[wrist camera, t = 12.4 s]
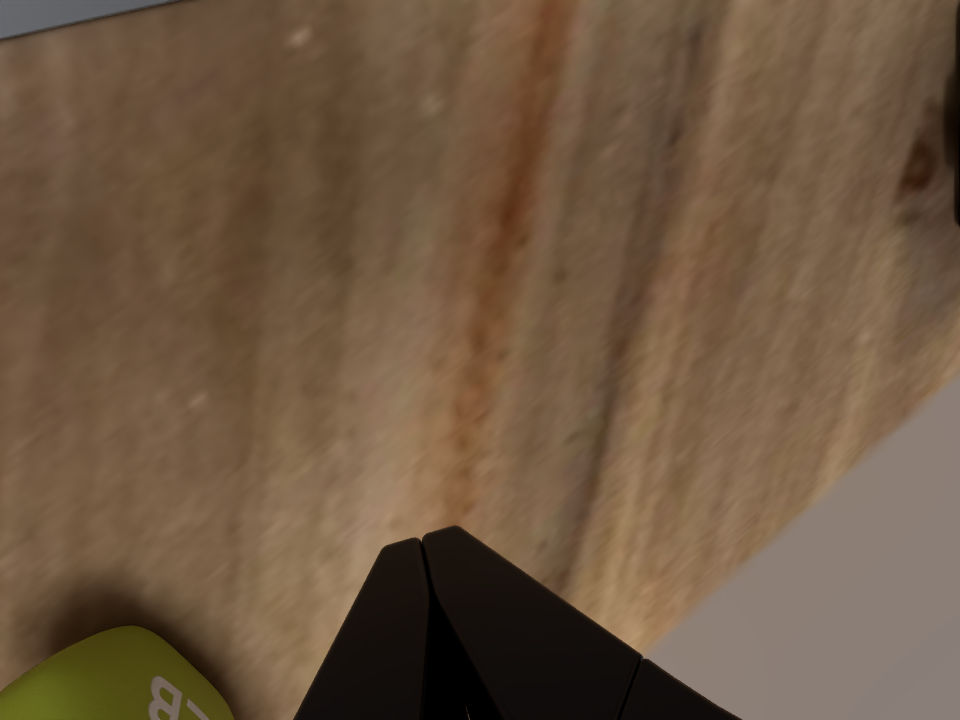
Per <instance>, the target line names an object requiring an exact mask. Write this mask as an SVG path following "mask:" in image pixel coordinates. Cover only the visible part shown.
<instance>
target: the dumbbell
mask: <svg viewBox="0 0 960 720" xmlns="http://www.w3.org/2000/svg"><path fill="white" fill-rule="evenodd" d="M0 720H234V717H233V715H232V713H231V711H230V709H229V707H228V705H227V703H226V702H225V700H224V699H223V697H222V696H221V695H220V693H219V692H218V691H217V690H216V689H215V687H214V686H213V685H212V684H211V683H210V682H209V681H208V680H207V679H206V678H205V677H204V676H203V675H202V674H201V673H199V672H198V671H197V670H196V669H195V668H194V667H193V666H192V665H191V664H190V663H189V662H188V661H187V660H186V659H185V658H184V657H183V656H182V655H180V654H179V653H178V652H177V651H176V650H175V649H174V648H173V647H172V646H170V645H169V644H168V643H167V642H166V641H165V640H163V639H162V638H161V637H159V636H158V635H157V634H155V633H153V632H151V631H150V630H148V629H145V628H142V627H139V626H133V625H129V626H121V627H116V628H112V629H109V630H106V631H103V632H100V633H98V634H95V635H93V636H90V637H88V638H86V639H84V640H82V641H79V642H77V643H75V644H73V645H71V646H69V647H67V648H65V649H63V650H61V651H60V652H58V653H56V654H54V655H52V656H51V657H49V658H48V659H46V660H44V661H43V662H41V663H40V664H38V665H37V666H35V667H34V668H32V669H31V670H29V671H28V672H26V673H25V674H23V675H22V676H20V677H19V678H18V679H16V680H15V681H13V682H12V683H11V684H9V685H8V686H7V687H5V688H4V689H3V690H2V691H1V692H0Z"/></svg>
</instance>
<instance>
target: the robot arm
mask: <svg viewBox="0 0 960 720" xmlns="http://www.w3.org/2000/svg"><path fill="white" fill-rule="evenodd" d="M958 219H959V224H960V126H959V205H958ZM466 708H467V709H466ZM468 715H469V716H468ZM469 718H470V720H742V719H740V718H738V717H737V716H735V715H733V714H731V713H730V712H728V711H726V710H724V709H723V708H721V707H719V706H717V705H716V704H714V703H713V702H711V701H710V700H708V699H707V698H705V697H704V696H702V695H701V694H699V693H697V692H696V691H694V690H693V689H691V688H690V687H688V686H687V685H685V684H684V683H682V682H681V681H679V680H678V679H676V678H674V677H673V676H672V675H670V674H669V673H667V672H666V671H664V670H663V669H662V668H660V667H659V666H657V665H656V664H655V663H653V662H652V661H650V660H649V659H644V658H643V656H642V655H641V654H640V653H639V652H637V651H636V650H634V649H633V648H631V647H630V646H629V645H627V644H626V643H624V642H623V641H622V640H620V639H619V638H617V637H616V636H614V635H613V634H612V633H610V632H609V631H607V630H606V629H604V628H603V627H602V626H600V625H599V624H597V623H596V622H595V621H593V620H592V619H590V618H589V617H587V616H586V615H585V614H583V613H582V612H580V611H579V610H577V609H576V608H575V607H573V606H572V605H570V604H569V603H568V602H566V601H565V600H563V599H562V598H560V597H559V596H558V595H556V594H555V593H553V592H552V591H550V590H549V589H548V588H546V587H545V586H543V585H542V584H540V583H539V582H538V581H536V580H535V579H533V578H532V577H531V576H529V575H528V574H526V573H525V572H523V571H522V570H521V569H519V568H518V567H516V566H515V565H513V564H512V563H511V562H509V561H508V560H506V559H505V558H504V557H502V556H501V555H499V554H498V553H496V552H495V551H494V550H492V549H491V548H489V547H488V546H486V545H485V544H484V543H482V542H481V541H479V540H478V539H477V538H475V537H474V536H472V535H471V534H469V533H468V532H467V531H465V530H464V529H462V528H461V527H459V526H456V525H454V526H450V527H447V528H443V529H440V530H437V531H433V532H430V533H427V534H425V535H424V536H423V538H422V542H421V540H420V539H419V538H416V537H415V538H410V539H406V540H403V541H400V542H396V543H393V544H389V545H386V546H385V547H383V548H382V550H381V551H380V553H379V555H378V557H377V559H376V561H375V563H374V565H373V567H372V569H371V570H370V572H369V574H368V576H367V578H366V580H365V582H364V584H363V586H362V588H361V590H360V592H359V594H358V596H357V597H356V599H355V601H354V603H353V605H352V607H351V609H350V611H349V613H348V615H347V617H346V619H345V621H344V623H343V624H342V626H341V628H340V630H339V632H338V634H337V636H336V638H335V640H334V642H333V644H332V646H331V648H330V649H329V651H328V653H327V655H326V657H325V659H324V661H323V663H322V665H321V667H320V669H319V671H318V673H317V675H316V676H315V678H314V680H313V682H312V684H311V686H310V688H309V690H308V692H307V694H306V696H305V698H304V700H303V702H302V703H301V705H300V707H299V709H298V711H297V713H296V715H295V717H294V719H293V720H469Z"/></svg>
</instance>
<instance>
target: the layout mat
mask: <svg viewBox="0 0 960 720" xmlns="http://www.w3.org/2000/svg"><path fill="white" fill-rule="evenodd" d="M176 1H180V0H0V40H4V39H8V38H13V37H17V36H22V35H26V34H31V33H36V32H40V31H45V30H49V29H54V28H58V27H63V26H67V25H72V24H76V23H81V22H85V21H90V20H94V19H99V18H103V17H108V16H112V15H117V14H121V13H126V12H131V11H135V10H140V9H144V8H149V7H153V6H158V5H162V4H167V3H171V2H176Z"/></svg>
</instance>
